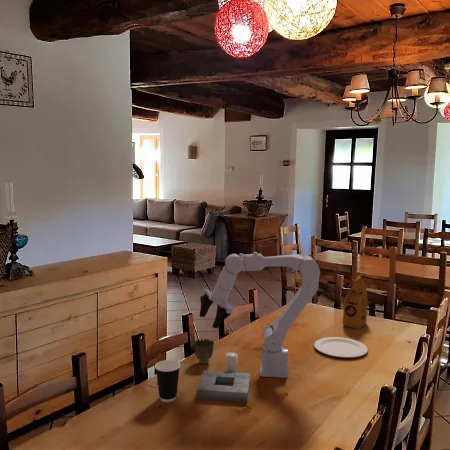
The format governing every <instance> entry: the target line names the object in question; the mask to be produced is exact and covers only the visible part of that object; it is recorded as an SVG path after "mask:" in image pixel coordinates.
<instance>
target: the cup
mask: <svg viewBox="0 0 450 450" xmlns="http://www.w3.org/2000/svg"><path fill="white" fill-rule="evenodd" d="M214 341H215V340H212V339H209V338H204V340H203V338H201V339H199V338H197V340H196V339H195V340H194V342H193V348H194V354H195V358H196V359H198V363H199V364H201V365H206V364H207V365H208V363H209V362H210V359H211V358H212V357H213V352H214V345H215V342H214Z"/></svg>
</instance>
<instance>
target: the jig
mask: <svg viewBox="0 0 450 450" xmlns="http://www.w3.org/2000/svg"><path fill="white" fill-rule="evenodd" d="M250 388H251V373H250V372H225V371H217V370H205V369H204V370H203V371H202V374H201V377H200V380H199V382H198V385H197V387H196V399H197V400H211V401H227V402H228V401H229V402H239V403H240V402H241V403H243V402H244V403H248V402H249V395H250Z"/></svg>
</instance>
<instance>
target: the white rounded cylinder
mask: <svg viewBox="0 0 450 450" xmlns="http://www.w3.org/2000/svg"><path fill="white" fill-rule="evenodd" d="M238 361H239V355H238V353H236V352H226V353H225V355H224V372H238V371H239V369H238V367H239V366H238V365H239V364H238ZM238 373H239V372H238Z"/></svg>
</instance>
